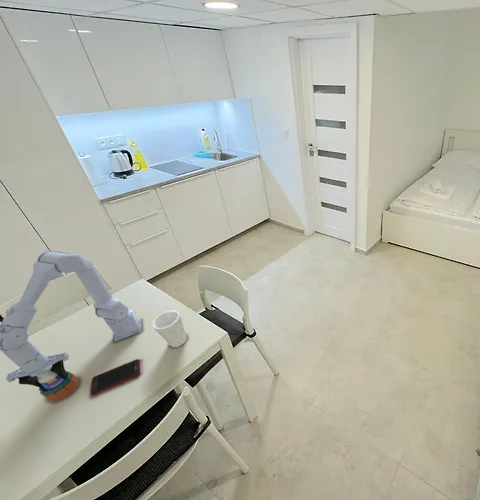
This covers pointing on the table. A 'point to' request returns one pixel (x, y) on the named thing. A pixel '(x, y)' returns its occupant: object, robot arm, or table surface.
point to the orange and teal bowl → (61, 389)
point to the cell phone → (115, 376)
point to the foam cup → (170, 328)
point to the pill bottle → (49, 379)
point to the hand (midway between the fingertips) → (54, 380)
